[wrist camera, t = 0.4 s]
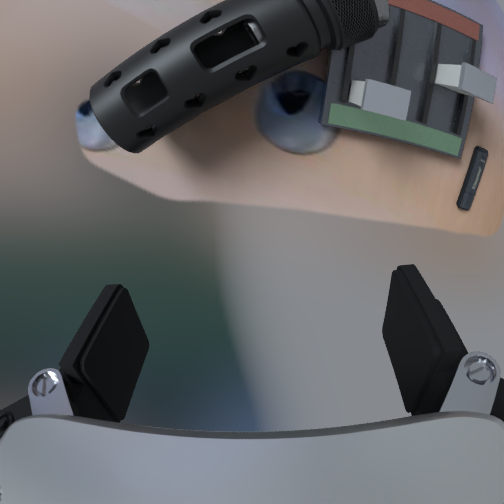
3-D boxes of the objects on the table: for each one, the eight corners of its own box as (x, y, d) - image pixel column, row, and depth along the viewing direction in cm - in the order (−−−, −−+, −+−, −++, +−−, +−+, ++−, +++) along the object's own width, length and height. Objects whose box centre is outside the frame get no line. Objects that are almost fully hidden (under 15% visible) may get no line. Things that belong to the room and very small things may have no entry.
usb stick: (465, 208, 39) (471, 213, 38) (453, 204, 39) (458, 209, 38) (485, 149, 35) (491, 152, 33) (473, 143, 35) (478, 146, 33)
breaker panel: (338, -24, 25) (343, -31, 23) (474, 26, 26) (487, 25, 23) (318, 121, 35) (322, 125, 32) (453, 154, 35) (464, 161, 33)
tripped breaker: (435, 61, 28) (466, 62, 22) (464, 73, 28) (496, 78, 22) (431, 84, 29) (461, 89, 23) (460, 95, 29) (492, 103, 23)
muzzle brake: (114, 79, 31) (72, 85, 22) (329, -31, 25) (358, -60, 16) (155, 142, 36) (126, 168, 27) (367, 37, 29) (408, 29, 20)
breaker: (349, 77, 30) (368, 78, 24) (387, 86, 30) (411, 91, 24) (345, 103, 32) (362, 109, 26) (382, 111, 32) (405, 120, 26)
